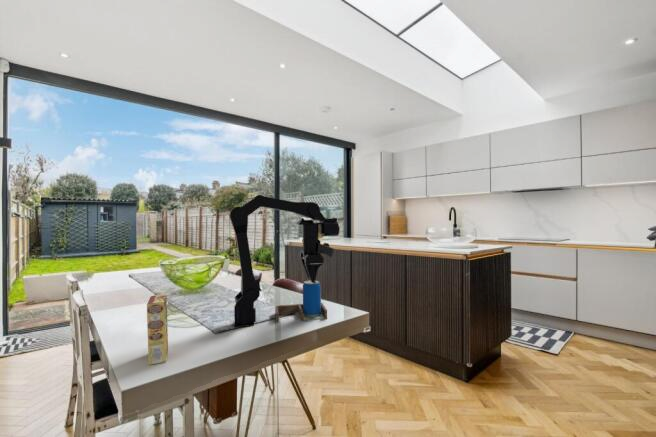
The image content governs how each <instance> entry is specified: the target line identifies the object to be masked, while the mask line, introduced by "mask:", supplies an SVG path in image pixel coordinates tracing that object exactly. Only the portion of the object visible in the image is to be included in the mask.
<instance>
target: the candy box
mask: <svg viewBox="0 0 656 437" xmlns="http://www.w3.org/2000/svg"><path fill="white" fill-rule="evenodd" d="M167 296H168V295H167V294H158V295H151V296H149V299H148V301H147V303H146V321H147V324H146V328H147V349H148V351H147V352H148V354H147V355H148V356H147V357H148V359H147V360H148V366H150V365H156V364H162V363H166V362H167V359H168V352H169V331H168V330H169V328H168V300H167V299H168V298H167Z"/></svg>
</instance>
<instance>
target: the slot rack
mask: <svg viewBox="0 0 656 437" xmlns="http://www.w3.org/2000/svg"><path fill="white" fill-rule="evenodd" d="M274 309H275V310H274V311H275V313H274V315H275V320H276V321H275V322H276V323H280V315H287V314H288V315H290V314H298V316H299V319H300V321H310V320H311V321H312V320H324V319H325V320H327V319H328V309H327V308H326V306H325V305H324V303H323V302H321V313H320V314H319V315H318V316H316V317H307V316H305V314H303V303H296V304H279V305H277V304H276V305H274Z"/></svg>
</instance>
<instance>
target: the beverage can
mask: <svg viewBox="0 0 656 437" xmlns="http://www.w3.org/2000/svg"><path fill="white" fill-rule="evenodd" d="M321 290H322V286H321V283H320V281H319V280H316V279H315V283H312V282H311V279H310V280H305V281H303V284H302V304H303V314H305V316H307V317H316V316H318V315H319V314H320V313H321V303H322V298H321V297H322V295H321V294H322V291H321Z"/></svg>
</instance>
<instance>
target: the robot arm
mask: <svg viewBox="0 0 656 437" xmlns="http://www.w3.org/2000/svg"><path fill="white" fill-rule="evenodd" d="M259 208H265V209H266V208H267V209H271V210H277V211H281V212H282V211H283V212H288V213H293V214H295V215H297V216H300V217H301V218H300V220H299V221H297V222H296V224H297V225H301V226H302V239H301V242H302V249H301V250H300V251H299V259H300V261H301V264H302V266H303V269H304V272H305V274H306V276H307V278H308V279H310V280H311V282H312V283H315V280H316V279H317V274H318V270H319V268H320V267H321V266H323V264H324V262H325V258H324V256H323V255H325V256H329V257H330V258H332V257H333V255H334V252H335V249H336V248H333V247H331V246H330V244H329V243H328V242H324V243H321V240H320V239H319V234H320V235H321V236H322V237H338V236H339V235H340V227H341V226H340V225H339V221H338V218H337V217H330V218H326V217H325V216H324V215H323V213H322V212H321V208H320V206H319V204H318V203H317V202H314V201H290V200H285V199H280V198H275V197H270V196H269V197H268V196H264V195H263V194H257V195H256V196H253V198H251V200H249V201H248V202H246V203H244V204H243V205H242V206H235V207H233V208H232V209H231V210H230V211H229V214H228V216H229V220H230V222H231V225H232V228H233V231H234V234H235V238H236V239H235V240H236V245H237V246H236V247H237V252H238V253H237V254H238V258H239V265H240V266H239V267H240V270H241V272H240V273H241V278H240V290H239V292H238V293H237V294H236V295H235V296H234V301H235V304H234V307H233V308H234V309H233V310H234V311H233V313H234V314H233V316H234V324H233V327H235V328H237V327H246V326H247V327H249V326H250V327H251V326H252V327H253V326H255V323H256V320H257V317H256V313H257V312H256V307H255V305H254V304H255V303H256V301H257V300H258V299H259V298H260V293H261V292H262V291H263V290H262V289H261V285H260V284H261V282H260V281H261V280H260V278H259V276H255V274H254V271H253V265H252V257H251V251H250V244H249V237H248V226H249V224H248V223H249V216H250V215H252V214H253V213H254V212H256V211H257V210H258V209H259ZM322 254H323V255H322Z"/></svg>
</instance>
